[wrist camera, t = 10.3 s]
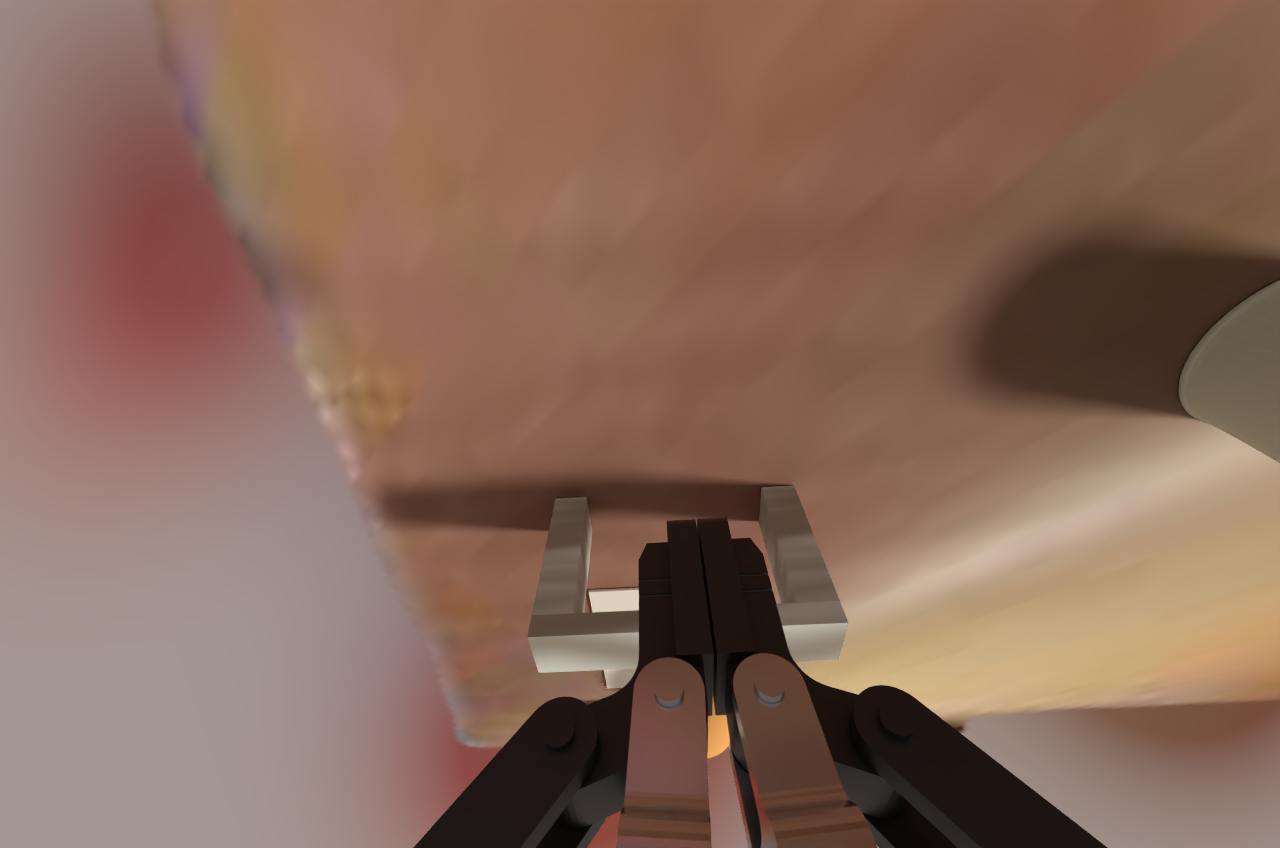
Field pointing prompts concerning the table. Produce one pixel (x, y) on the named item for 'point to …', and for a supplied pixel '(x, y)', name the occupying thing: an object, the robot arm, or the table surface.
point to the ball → (717, 734)
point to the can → (1239, 373)
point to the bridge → (614, 636)
